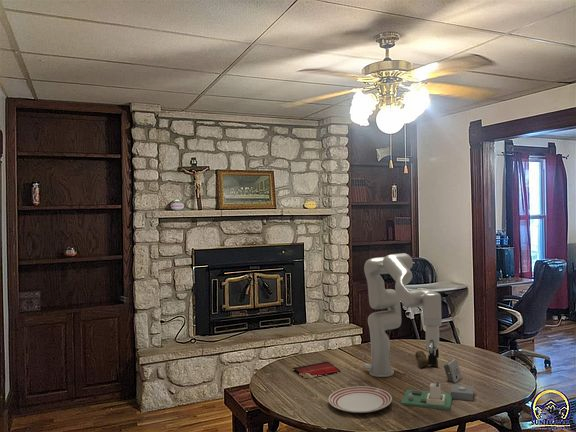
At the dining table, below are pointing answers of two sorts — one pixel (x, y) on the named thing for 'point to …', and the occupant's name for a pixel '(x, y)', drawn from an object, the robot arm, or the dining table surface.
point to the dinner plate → (360, 399)
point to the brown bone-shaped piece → (423, 359)
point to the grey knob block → (462, 392)
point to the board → (426, 399)
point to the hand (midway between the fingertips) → (433, 360)
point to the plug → (435, 391)
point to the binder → (318, 369)
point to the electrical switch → (453, 371)
